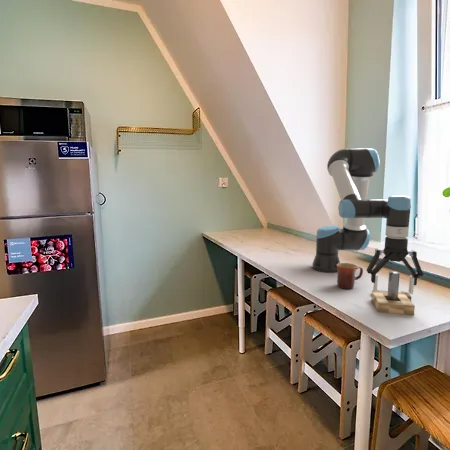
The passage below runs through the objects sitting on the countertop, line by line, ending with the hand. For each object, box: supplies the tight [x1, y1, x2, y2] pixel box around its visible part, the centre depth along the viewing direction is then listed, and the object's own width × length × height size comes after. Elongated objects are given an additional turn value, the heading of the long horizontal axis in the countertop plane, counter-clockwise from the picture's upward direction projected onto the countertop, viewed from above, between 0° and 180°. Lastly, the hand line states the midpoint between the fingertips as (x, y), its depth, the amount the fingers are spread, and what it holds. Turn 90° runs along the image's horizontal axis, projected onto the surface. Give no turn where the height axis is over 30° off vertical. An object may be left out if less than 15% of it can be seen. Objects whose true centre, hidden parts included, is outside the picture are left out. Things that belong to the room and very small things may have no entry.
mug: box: [336, 262, 364, 290], centre depth 142 cm, size 12×9×10 cm
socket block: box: [371, 292, 416, 316], centre depth 120 cm, size 12×12×4 cm
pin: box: [387, 270, 401, 301], centre depth 119 cm, size 4×4×14 cm
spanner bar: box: [371, 289, 412, 302], centre depth 130 cm, size 14×5×2 cm, turn 71°
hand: (392, 291), depth 120 cm, fingers open, 12 cm apart
